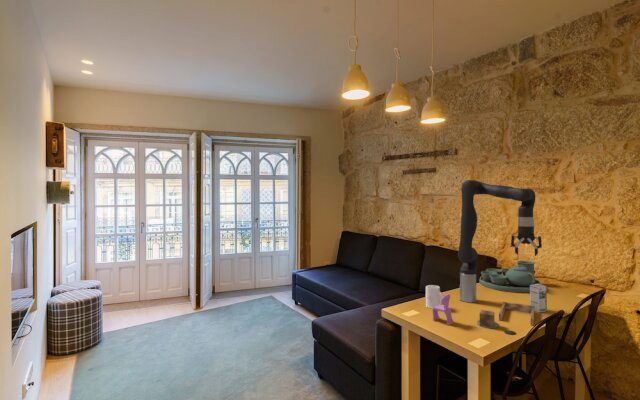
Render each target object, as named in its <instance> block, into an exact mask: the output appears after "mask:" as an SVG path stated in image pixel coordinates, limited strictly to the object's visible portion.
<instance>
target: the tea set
mask: <svg viewBox="0 0 640 400" xmlns="http://www.w3.org/2000/svg"><path fill="white" fill-rule="evenodd" d="M516 264H517V265H514V266H510V265H508V266H507V268H501V269H499V268H493V267H492V268H491V267H490V268H486V269H485V270H482V271H480V274H481V276H480V277H479V284H480V285H482V286H484V287H485V288H489V289H492V290H496V291H501V292H502V291H503V292H509V293H522V294H523V293H525V294H528V293H529V294H530V285H533V284H541V285H544V283H543V282H541V281H539V280H538V279H536V276H535V264H536V262H535V261H531V260H516Z"/></svg>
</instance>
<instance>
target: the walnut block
mask: <svg viewBox="0 0 640 400" xmlns="http://www.w3.org/2000/svg"><path fill="white" fill-rule="evenodd" d="M479 320H480V325H482V326H487V327H493V326H494V324H495V322H496V321H495V311H491V310H484V309H481V310H480V311H479Z"/></svg>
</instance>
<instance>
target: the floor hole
mask: <svg viewBox="0 0 640 400" xmlns="http://www.w3.org/2000/svg"><path fill="white" fill-rule="evenodd" d="M503 333H504V334H507V335H509V336H510V335H511V336H515V335H516V334H517V332H515V331H514V330H509V329H507V330H504V331H503Z"/></svg>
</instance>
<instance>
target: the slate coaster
mask: <svg viewBox="0 0 640 400" xmlns="http://www.w3.org/2000/svg"><path fill="white" fill-rule="evenodd" d="M476 325H478V326H479V327H482V328H487V329H498V328H499V323H498V322H496V321H495V324H494V326H493V327H487V326H482V325H480V319H479V320H477V321H476Z"/></svg>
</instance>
